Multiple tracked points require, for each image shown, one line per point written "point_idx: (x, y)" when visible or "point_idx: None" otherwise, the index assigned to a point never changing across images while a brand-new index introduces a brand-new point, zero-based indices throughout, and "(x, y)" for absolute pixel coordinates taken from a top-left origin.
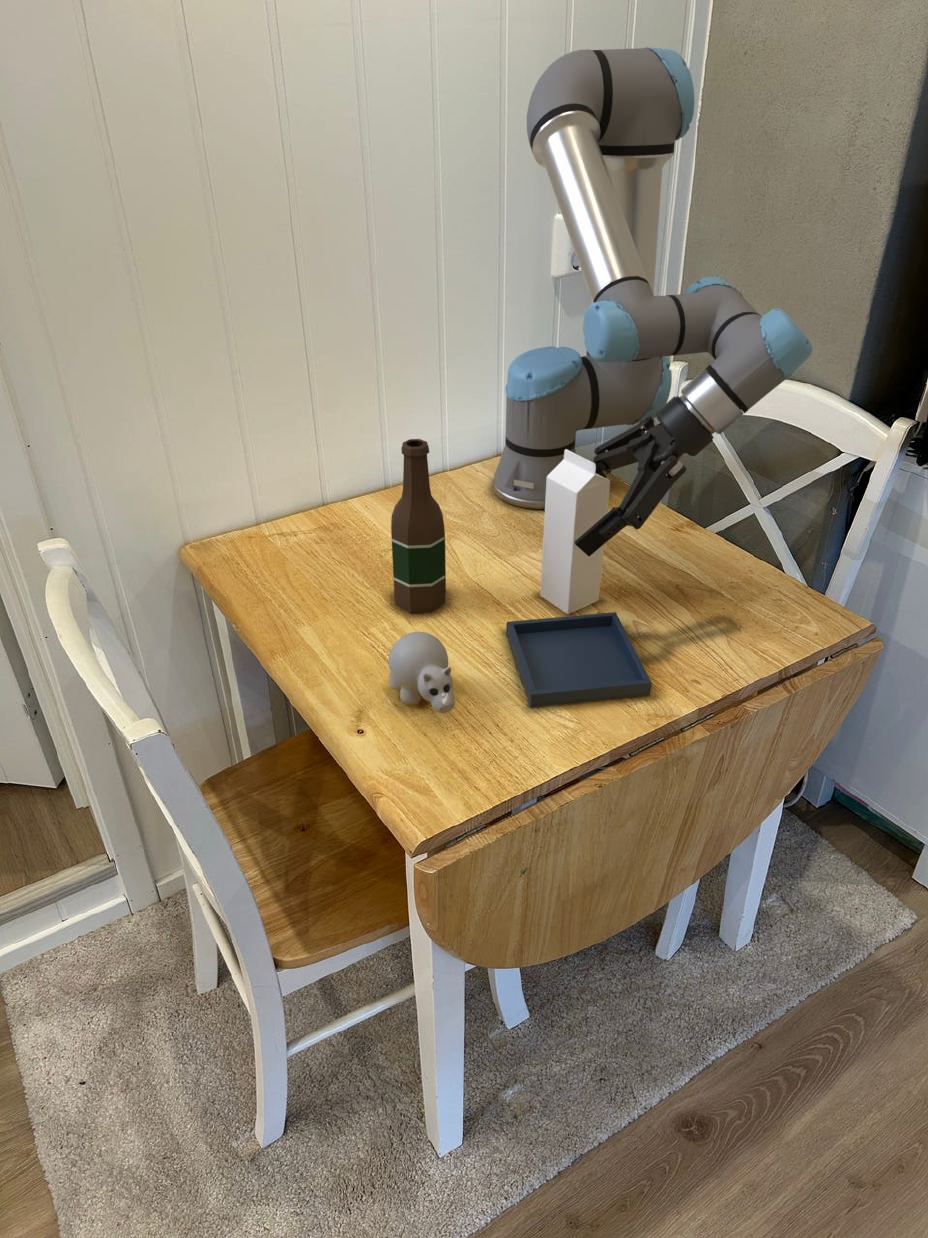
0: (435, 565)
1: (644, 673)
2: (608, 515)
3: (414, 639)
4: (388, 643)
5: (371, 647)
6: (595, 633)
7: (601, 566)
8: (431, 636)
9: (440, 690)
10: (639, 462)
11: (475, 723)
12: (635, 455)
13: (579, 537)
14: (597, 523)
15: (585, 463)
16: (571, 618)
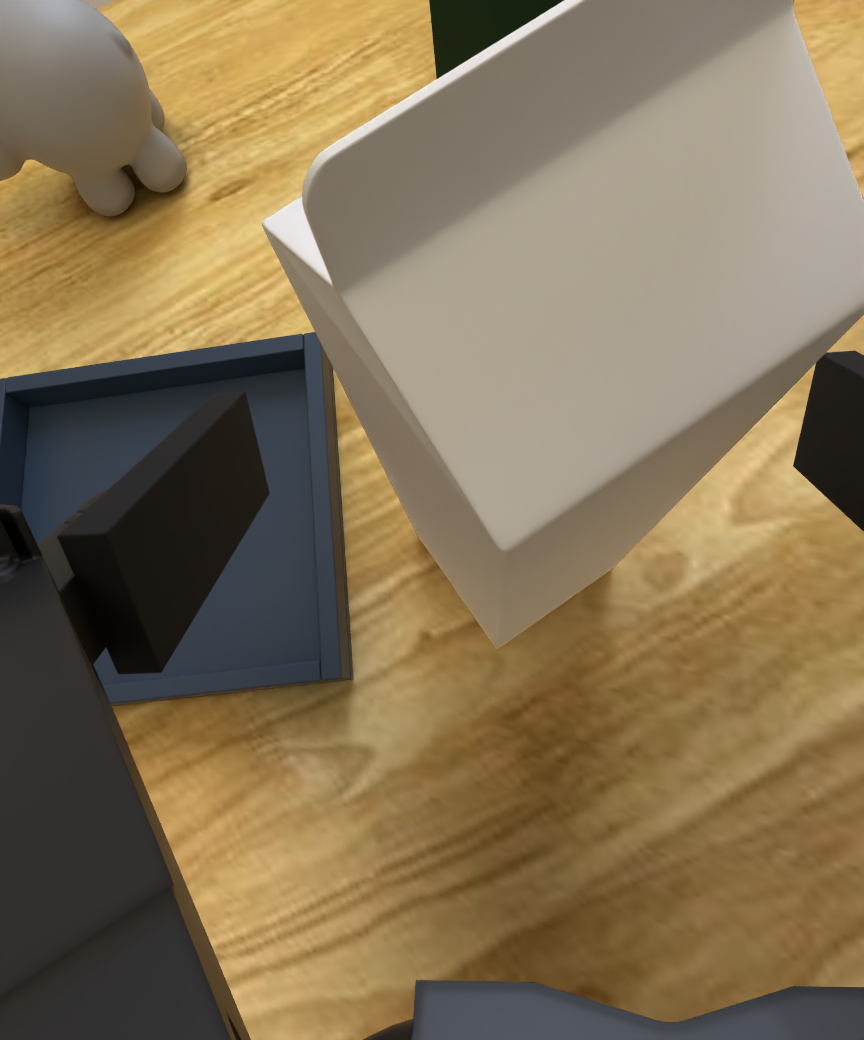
0: (450, 41)
1: None
2: (96, 507)
3: (3, 2)
4: (323, 98)
5: (311, 67)
6: (290, 603)
7: (494, 635)
8: (29, 48)
9: None
10: (463, 1015)
11: (3, 283)
12: (846, 1017)
13: (232, 404)
14: (163, 460)
15: (474, 118)
16: (315, 520)
